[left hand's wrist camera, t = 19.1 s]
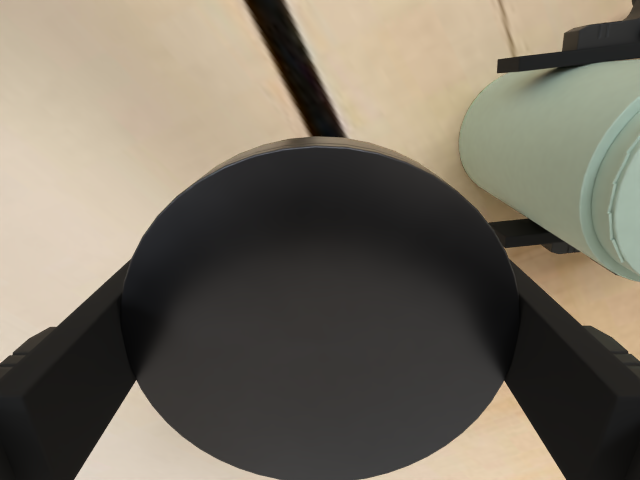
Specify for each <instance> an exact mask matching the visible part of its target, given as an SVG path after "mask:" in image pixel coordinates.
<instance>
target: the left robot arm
mask: <svg viewBox="0 0 640 480" xmlns="http://www.w3.org/2000/svg"><path fill="white" fill-rule="evenodd" d="M130 261H131V259H130V260H129V261H128V262H127V263H126V264H125V265H124V266H123V267H122V268H121V269H120V270H118V271H117V272H116V273H115V274H114V275H113V276H112V277H111V278H110V279H109V280H108V281H106V282H105V283H104V284H103V285H102V286H101V287H100V288H99V289H98V290H97V291H95V292H94V293H93V294H92V295H91V296H90V297H89V298H88V299H87V300H86V301H85V302H83V303H82V304H81V305H80V306H79V307H78V308H77V309H76V310H75V311H74V312H73V313H71V314H70V315H69V316H68V317H67V318H66V319H65V320H64V321H63V322H62V323H61V324H59V325H58V326H57V327H49V328H47V329H46V330H44V331H42V332H40V333H38V334H37V335H35V336H33V337H31V338H29V339H28V340H27V341H26V342H25V343H23V344H22V345H21V346H20V347H19V348H18V349H16V350H15V351H14V352H13V355H10V356H8V357H7V358H6V359H5V360H4V361H3V362H1V363H0V480H74V479H75V477H76V476H77V474H78V472H79V471H80V469H81V468H82V466H83V464H84V463H85V461H86V460H87V458H88V456H89V455H90V453H91V452H92V450H93V448H94V447H95V445H96V444H97V442H98V440H99V439H100V437H101V436H102V434H103V432H104V431H105V429H106V428H107V426H108V424H109V423H110V421H111V420H112V418H113V416H114V415H115V413H116V412H117V410H118V408H119V407H120V405H121V404H122V402H123V400H124V399H125V397H126V396H127V394H128V392H129V391H130V389H131V388H132V386H133V384H134V383H135V381H136V378H135V376H134V374H133V372H132V370H131V367H130V364H129V361H128V358H127V354H126V350H125V345H124V341H123V336H122V331H121V299H122V292H123V286H124V280H125V277H126V274H127V271H128V268H129V265H130ZM509 261H510V264H511V266H512V269H513V272H514V275H515V279H516V284H517V290H518V295H519V309H520V324H519V333H518V338H517V343H516V347H515V351H514V356H513V360H512V363H511V366H510V368H509V370H508V372H507V375H506V377H505V379H504V381H505V382H506V384H507V386H508V387H509V389H510V390H511V392H512V394H513V395H514V397H515V398H516V400H517V402H518V403H519V405H520V406H521V408H522V410H523V411H524V413H525V414H526V416H527V418H528V419H529V421H530V422H531V424H532V426H533V427H534V429H535V430H536V432H537V434H538V435H539V437H540V438H541V440H542V442H543V443H544V445H545V446H546V448H547V450H548V451H549V453H550V454H551V456H552V458H553V459H554V461H555V462H556V464H557V466H558V467H559V469H560V470H561V472H562V474H563V475H564V477H565V478H566V480H640V361H639V360H638V359H636V358H635V357H634V356H633V355H632V354H628V351H627V350H626V349H625V348H624V347H622V346H621V345H620V344H619V343H618V342H617V341H615V340H614V339H613V338H612V337H610V336H608V335H607V334H605V333H603V332H601V331H599V330H597V329H596V328H594V327H592V326H582V325H581V324H580V323H579V322H578V321H576V320H575V319H574V318H573V317H572V316H571V315H570V314H569V313H568V312H567V311H566V310H564V309H563V308H562V307H561V306H560V305H559V304H558V303H557V302H556V301H555V300H554V299H552V298H551V297H550V296H549V295H548V294H547V293H546V292H545V291H544V290H543V289H542V288H540V287H539V286H538V285H537V284H536V283H535V282H534V281H533V280H532V279H531V278H529V277H528V276H527V275H526V274H525V273H524V272H523V271H522V270H521V269H520V268H519V267H517V266H516V265H515V264H514V263H513V262H512V261H511V260H510V259H509Z"/></svg>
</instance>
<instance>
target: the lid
mask: <svg viewBox="0 0 640 480" xmlns="http://www.w3.org/2000/svg"><path fill="white" fill-rule="evenodd" d="M519 324H520V309H519V295H518V290H517V284H516V279H515V275H514V272H513V269H512V266H511V264H510V261H509V258H508V256H507V253H506V251H505V249H504V247H503V246H502V244H501V242H500V240H499V239H498V237H497V235H496V233H495V232H494V230H493V229H492V227H491V226H490V225H489V224H488V222H487V221H486V220H485V219H484V217H483V216H482V215H481V214H480V212H479V211H478V210H477V209H476V208H475V207H474V206H473V205H472V204H471V203H470V202H469V201H467V200H466V199H465V198H464V197H463V196H462V195H461V194H460V193H459V192H458V191H457V190H455V189H454V188H453V187H451V186H450V185H449V184H447V183H446V182H445V181H443V180H442V179H441V178H440V177H438V176H437V175H435V174H434V173H432V172H431V171H429V170H428V169H427V168H425V167H424V166H422V165H421V164H419V163H418V162H416V161H414V160H412V159H410V158H408V157H406V156H404V155H402V154H400V153H398V152H396V151H393V150H390V149H387V148H384V147H381V146H378V145H375V144H372V143H368V142H363V141H358V140H352V139H347V138H336V137H305V138H294V139H287V140H282V141H278V142H273V143H269V144H265V145H261V146H259V147H256V148H253V149H251V150H248V151H246V152H243V153H240V154H238V155H236V156H234V157H232V158H231V159H229V160H227V161H225V162H223V163H221V164H220V165H218V166H216V167H215V168H213V169H212V170H211V171H209V172H208V173H207V174H205V175H204V176H203V177H201V178H200V179H199V180H197V181H196V182H195V183H193V184H192V185H191V186H190V187H188V188H187V189H186V190H184V191H183V192H182V193H180V194H179V195H178V196H177V197H176V198H175V199H174V200H173V201H172V202H171V203H170V204H169V205H168V206H167V207H166V208H165V209H164V210H163V211H162V212H161V213H160V214H159V215H158V216H157V217H156V219H155V220H154V221H153V223H152V224H151V226H150V227H149V228H148V230H147V231H146V233H145V234H144V235H143V237H142V239H141V241H140V243H139V245H138V247H137V249H136V251H135V253H134V255H133V256H132V258H131V261H130V265H129V268H128V271H127V274H126V277H125V280H124V286H123V292H122V299H121V331H122V336H123V341H124V345H125V350H126V354H127V358H128V361H129V364H130V367H131V370H132V372H133V374H134V376H135V378H136V380H137V382H138V384H139V386H140V388H141V390H142V391H143V393H144V394H145V396H146V397H147V399H148V400H149V402H150V403H151V405H152V406H153V407H154V408H155V410H156V411H157V412H158V413H159V414H160V415H161V416H162V418H163V419H164V420H165V421H166V422H167V423H168V424H169V425H170V426H171V427H172V428H174V429H175V430H176V431H177V432H178V433H179V434H180V435H181V436H182V437H184V438H185V439H187V440H188V441H189V442H191V443H192V444H194V445H195V446H196V447H198V448H199V449H201V450H202V451H204V452H206V453H208V454H210V455H211V456H213V457H215V458H217V459H219V460H221V461H223V462H225V463H228V464H230V465H232V466H234V467H237V468H239V469H242V470H245V471H248V472H252V473H255V474H258V475H262V476H266V477H271V478H275V479H280V480H360V479H366V478H370V477H374V476H378V475H382V474H386V473H389V472H392V471H395V470H398V469H401V468H404V467H406V466H409V465H411V464H413V463H415V462H417V461H419V460H422V459H424V458H426V457H428V456H429V455H431V454H433V453H434V452H436V451H438V450H439V449H441V448H443V447H444V446H446V445H447V444H449V443H450V442H451V441H452V440H454V439H455V438H456V437H458V436H459V435H460V434H462V433H463V432H464V431H465V430H466V429H467V428H468V427H469V426H470V425H471V424H472V423H473V422H474V421H475V420H476V419H477V418H478V417H479V416H480V415H481V414H482V412H483V411H484V410H485V409H486V408H487V406H488V405H489V404H490V403H491V401H492V400H493V398H494V396H495V395H496V393H497V392H498V390H499V388H500V387H501V385H502V384H503V381H504V379H505V377H506V375H507V372H508V370H509V368H510V366H511V363H512V360H513V356H514V351H515V347H516V343H517V338H518V333H519Z"/></svg>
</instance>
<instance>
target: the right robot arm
mask: <svg viewBox="0 0 640 480" xmlns="http://www.w3.org/2000/svg"><path fill="white" fill-rule="evenodd" d="M632 5H633V8H632V10H631V12H630V14H629V15H628V16H627V17H626V18H625V19H624V20H623V21H617V22H609V23H601V24H592V25H586V26H582V27H577V28H573V29H571V30H569V31H568V32H566V33H564V40H563V48H562V52H555V53H546V54H538V55H529V56H520V57H513V58H505V59H498V65H497V73H508V72H522V71H531V70H540V69H548V68H557V67H566V66H574V65H583V64H591V63H600V62H609V61H617V60H626V59H635V58H640V0H632ZM488 224H489V225H490V226H491V227H492V229H493V230H494V232H495V233H496V235H497V237H498V239H499V240H500V242H501V244H502V246H503V247H505V248H510V247H520V246H530V245H539V244H541V245H542V246H544V247H545V248H546V249H548V250H549V251H551V252H553V253H557V254H564V253H573V252H580V251H579V250H577V249H576V248H574V247H573V246H571V245H570V244H568V243H566V242H565V241H563V240H562V239H560V238H559V237H557V236H555V235H554V234H552V233H551V232H549V231H548V230H546V229H545V228H543V227H541V226H540V225H538V224H537V223H535V222H534V221H532V220H530V219H520V220H510V221H501V222H491V223H488ZM592 260H593V259H592ZM593 261H595V260H593ZM595 262H596V261H595ZM596 263H598V262H596ZM598 264H599V263H598ZM600 265H601V264H600ZM601 266H602V265H601ZM603 267H604V266H603ZM604 268H606V267H604ZM606 269H607V268H606ZM607 270H609V269H607ZM609 271H610V270H609ZM611 272H612V271H611ZM612 273H614V272H612ZM614 274H615V275H617V274H616V273H614Z"/></svg>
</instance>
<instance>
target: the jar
mask: <svg viewBox="0 0 640 480" xmlns="http://www.w3.org/2000/svg"><path fill="white" fill-rule="evenodd" d="M459 153H460V158H461V161H462V165H463V167H464V169H465V171H466V173H467V174H468V176H469V177H470V178H471V180H472V181H473V182H474V183H475V184H477V185H478V186H479V187H480V188H482V189H483V190H485V191H487V192H488V193H490V194H491V195H493V196H494V197H496V198H498V199H499V200H501V201H502V202H504V203H505V204H507V205H509V206H510V207H512V208H513V209H515V210H516V211H518V212H519V213H521V214H523V215H524V216H526V217H527V218H529V219H530V220H532V221H534V222H535V223H537V224H538V225H540V226H541V227H543V228H545V229H546V230H548V231H549V232H551V233H552V234H554V235H555V236H557V237H559V238H560V239H562V240H563V241H565V242H566V243H568V244H570V245H571V246H573V247H574V248H576V249H577V250H579V251H580V252H582V253H584V254H585V255H587V256H588V257H590V258H591V259H593V260H595V261H596V262H598V263H599V264H601V265H602V266H604V267H606V268H607V269H609V270H610V271H612V272H614V273H616V274H617V275H619V276H622V277H624V278H627V279H630V280H633V281H638V282H640V59H637V60H624V61H610V62H600V63H591V64H583V65H574V66H566V67H557V68H548V69H540V70H531V71H522V72H509V73H507V74H505V75H503V76H501V77H499V78H498V79H496V80H494V81H493V82H492V83H490V84H489V85H488V86H487V87H486V88H485V89H484V90H483V91H482V92H480V94H479V95H478V96H477V97H476V98H475V100H474V101H473V103H472V104H471V106H470V107H469V109H468V111H467V113H466V115H465V117H464V120H463V123H462V126H461V130H460V136H459Z"/></svg>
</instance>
